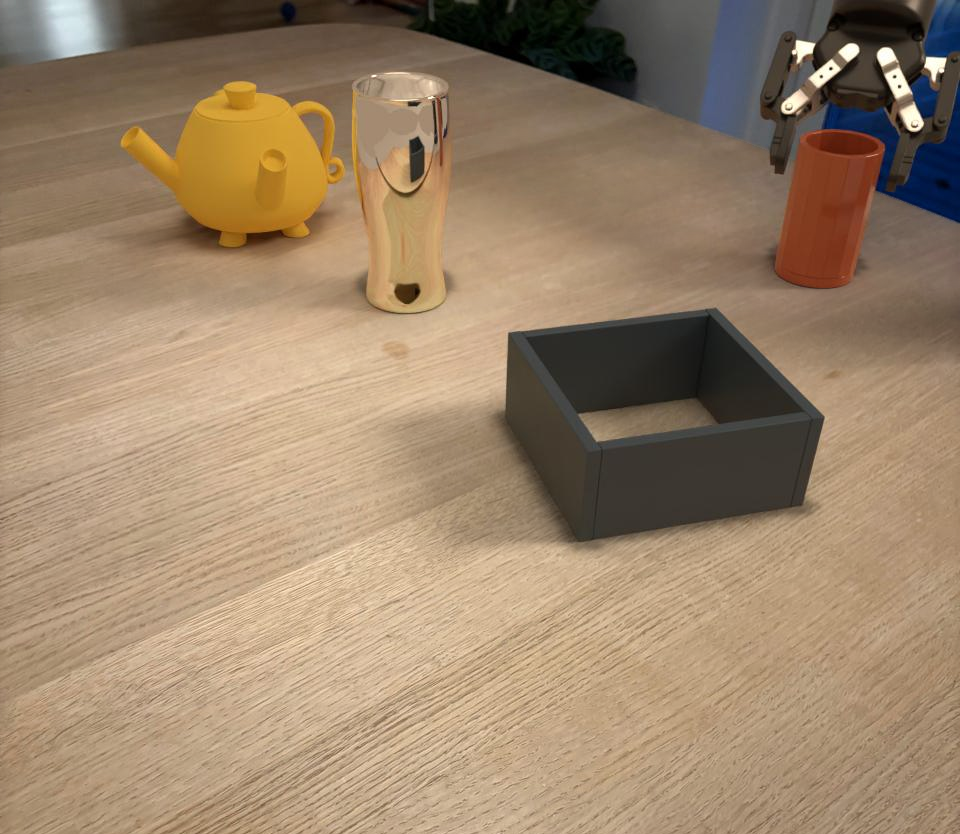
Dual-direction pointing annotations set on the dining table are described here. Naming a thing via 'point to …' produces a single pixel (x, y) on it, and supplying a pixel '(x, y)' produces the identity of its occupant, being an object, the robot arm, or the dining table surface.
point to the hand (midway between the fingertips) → (834, 178)
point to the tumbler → (828, 207)
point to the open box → (668, 455)
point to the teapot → (245, 163)
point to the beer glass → (403, 184)
